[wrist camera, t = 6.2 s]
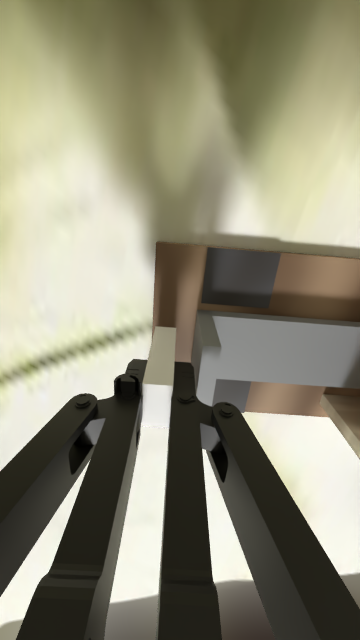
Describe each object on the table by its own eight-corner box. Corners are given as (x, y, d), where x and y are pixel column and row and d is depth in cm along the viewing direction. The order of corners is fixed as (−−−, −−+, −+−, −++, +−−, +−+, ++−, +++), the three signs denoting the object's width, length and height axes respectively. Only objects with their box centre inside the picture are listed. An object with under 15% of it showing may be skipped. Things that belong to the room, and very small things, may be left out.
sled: (190, 369, 21) (193, 434, 15) (197, 309, 19) (204, 356, 13) (441, 387, 21) (544, 456, 15) (475, 331, 19) (608, 385, 13)
